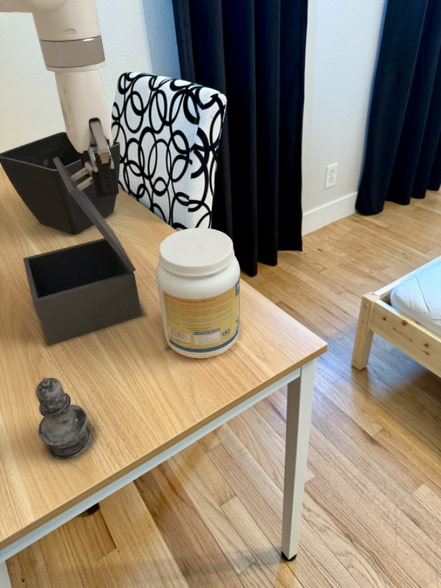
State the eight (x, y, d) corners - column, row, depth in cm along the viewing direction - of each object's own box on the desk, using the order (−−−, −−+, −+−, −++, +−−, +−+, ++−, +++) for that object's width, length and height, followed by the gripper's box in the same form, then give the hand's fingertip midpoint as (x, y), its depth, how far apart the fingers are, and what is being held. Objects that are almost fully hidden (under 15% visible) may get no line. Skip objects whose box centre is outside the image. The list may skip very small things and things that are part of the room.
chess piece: (36, 449, 54) (4, 387, 47) (69, 414, 58) (44, 352, 51) (71, 469, 52) (43, 407, 44) (103, 431, 56) (82, 369, 48)
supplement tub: (254, 343, 68) (257, 253, 57) (185, 373, 63) (174, 281, 53) (216, 301, 76) (213, 216, 66) (153, 326, 72) (138, 238, 61)
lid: (68, 192, 57) (101, 170, 57) (52, 159, 66) (81, 141, 67) (132, 273, 68) (159, 254, 68) (110, 234, 78) (134, 218, 78)
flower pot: (78, 194, 113) (61, 129, 103) (133, 210, 105) (122, 141, 95) (18, 225, 100) (-7, 154, 90) (76, 246, 92) (56, 170, 82)
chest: (48, 345, 69) (32, 302, 63) (37, 298, 78) (22, 258, 73) (142, 315, 74) (134, 273, 68) (120, 274, 84) (112, 235, 78)
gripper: (34, 47, 59) (65, 170, 70) (54, 68, 47) (89, 214, 58) (88, 42, 62) (110, 161, 73) (121, 61, 49) (142, 202, 60)
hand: (101, 184), depth 65 cm, fingers open, 7 cm apart
